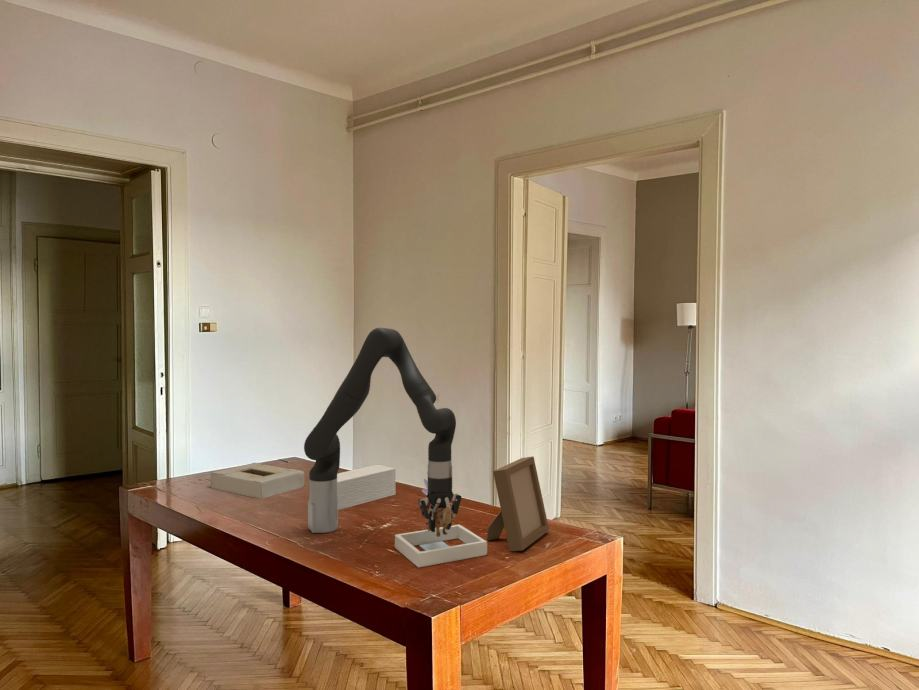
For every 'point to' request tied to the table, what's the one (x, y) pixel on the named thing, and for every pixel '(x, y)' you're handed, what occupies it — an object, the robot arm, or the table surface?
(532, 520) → the photo frame
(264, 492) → the box
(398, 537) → the low pen
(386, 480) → the stack of papers
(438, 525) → the lion figurine
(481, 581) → the table surface
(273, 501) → the table surface
